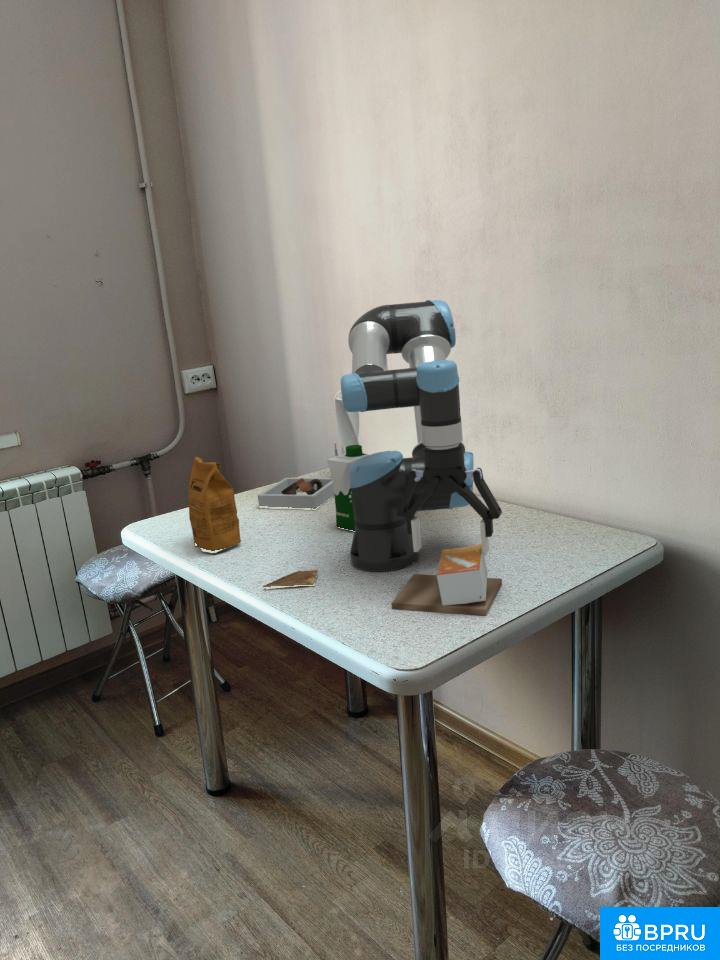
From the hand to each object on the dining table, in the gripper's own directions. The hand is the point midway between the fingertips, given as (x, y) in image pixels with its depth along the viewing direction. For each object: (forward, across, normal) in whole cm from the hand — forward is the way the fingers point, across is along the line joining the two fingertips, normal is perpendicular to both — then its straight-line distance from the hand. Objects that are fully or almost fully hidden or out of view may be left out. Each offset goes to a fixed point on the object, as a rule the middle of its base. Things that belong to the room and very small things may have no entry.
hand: (451, 551), depth 152 cm
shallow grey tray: (+8, +59, -53) cm, 80 cm away
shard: (+8, +33, +3) cm, 34 cm away
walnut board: (+8, 0, +4) cm, 9 cm away
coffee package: (+8, +64, -16) cm, 67 cm away
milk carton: (+8, +34, -33) cm, 48 cm away
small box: (+3, -2, -3) cm, 4 cm away
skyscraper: (+8, +51, -73) cm, 89 cm away
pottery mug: (+8, +57, -51) cm, 76 cm away
